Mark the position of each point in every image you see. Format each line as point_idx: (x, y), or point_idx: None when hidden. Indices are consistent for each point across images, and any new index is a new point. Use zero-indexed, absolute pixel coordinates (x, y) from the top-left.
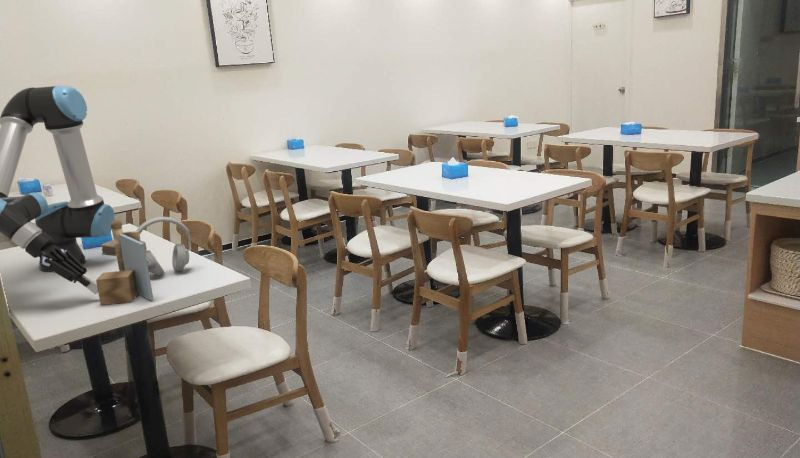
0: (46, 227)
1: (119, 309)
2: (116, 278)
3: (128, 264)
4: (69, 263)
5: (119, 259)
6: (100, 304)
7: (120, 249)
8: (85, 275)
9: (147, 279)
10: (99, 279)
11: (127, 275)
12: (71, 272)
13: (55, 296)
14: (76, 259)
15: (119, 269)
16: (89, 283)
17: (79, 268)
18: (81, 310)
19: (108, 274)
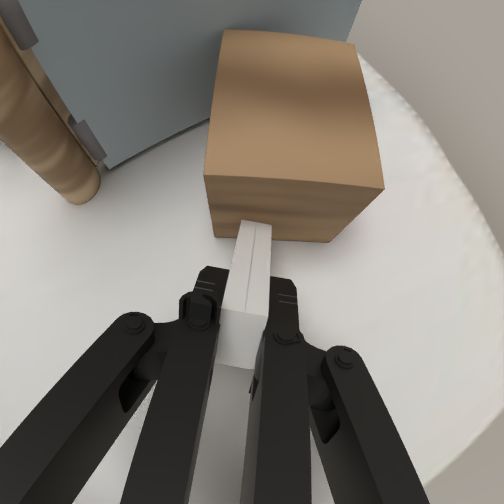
0: None
1: (390, 159)
2: (363, 86)
3: (145, 44)
4: (188, 481)
5: (27, 106)
6: (329, 241)
7: (3, 46)
8: (252, 301)
9: (354, 11)
10: (381, 167)
11: (330, 44)
12: (362, 393)
13: (111, 490)
14: (42, 419)
15: (49, 155)
16: (282, 278)
17: (191, 364)
18: (367, 317)
19: (272, 128)
